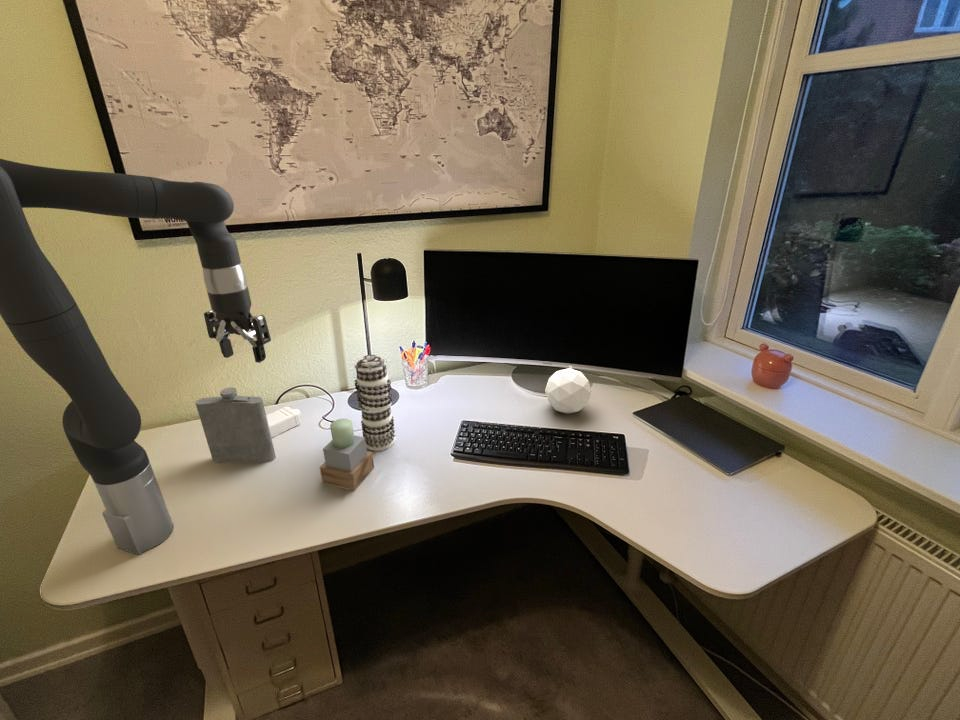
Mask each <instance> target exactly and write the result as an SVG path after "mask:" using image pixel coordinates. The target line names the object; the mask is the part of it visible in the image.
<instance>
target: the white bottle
mask: <svg viewBox="0 0 960 720" xmlns="http://www.w3.org/2000/svg"><path fill="white" fill-rule="evenodd" d="M266 417H267V421H268V426H269V430H270V434H271V438H272V439H273V438H274V437H276V436H279V435H281V434H282V433H284V432H286V431H289V430H290V429H293V428H294V427H297V426H299V425H301V420H300V419H301V417H302V413H301V411H300V410H299V409H298V408H293V409H292V408H290V407H289V406H284V407H282V408H280V409H276V411H275V410H274V411H273V412H270V413H268V414H266Z"/></svg>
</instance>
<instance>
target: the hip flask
mask: <svg viewBox="0 0 960 720" xmlns="http://www.w3.org/2000/svg"><path fill="white" fill-rule="evenodd" d="M237 393H238V391H237V389H236V387H233V386H232V387H225V388H224V389H221V390H220V391H219V395H220V396H210V397H203V398H199V399H197V400H196V401H195V406H196V410H197V413H198V416H199V419H200V420H199V421H200V423H201V426H202V428H203V432H204V436H205V439H206V441H207V442H206V443H207V445H208V446H207V447H208V449H209V450H208V451H209V452H210V455H211V459H212V463H214V464H220V463H228V462H230V463H231V462H262V463H269V462H272V461H275V460H276V458H277V456H276V453H275V448H274V444H273V440H272V439H273V437H272V438H271V434H270V430H269V426H268V421H267V417H266V415H267V413H266V410H265V405H264V400H263V398H262V396H261V397H260V396H250V395H249V396H248V395H247V396H246V395H237Z"/></svg>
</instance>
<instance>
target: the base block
mask: <svg viewBox="0 0 960 720" xmlns="http://www.w3.org/2000/svg"><path fill="white" fill-rule="evenodd" d="M366 451H367V450H366ZM374 469H375V462H374V455H373V451H367V455H366V456H365V457H364V458H363V459H362V461H361V462H360V463H359V464H358V465H357V466H356V467H355V468H354V470H353V471H352V472H351V471H346V470H342V469H337V468H333V467H328V466H326V463H325V461H324V462H323V463H322V464H321V465H320V466H319V470H320V471H319V472H320V474H321V475H320V476H321V481H322V483H323V484H326V485H331V486H333V487H334V486H335V487H339V488H343V489H347V490H351V491H357V489H358V487H360V485H361V484H362V483H363V482H364V481H365V480H366V478H367V477H368V476H369V475H370V474H371V472H373V471H374Z"/></svg>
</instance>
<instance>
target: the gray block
mask: <svg viewBox="0 0 960 720" xmlns="http://www.w3.org/2000/svg"><path fill="white" fill-rule="evenodd" d="M354 439H355V442H354V444H353V445H351V446H350V447H347V448H336V447H335V446H334V445H333V441H332V439H331V440H330V441H329V442H328V444H327V443H326V445H325V446H324V447H323V448H322V451H323V457H324V462H325V463H326V466H328V467H333V468H337V469H342V470H346V471H351V472H352V471H353V470H354V468H355V467H356V466H357V465H358V464H359V463H360V462H361V461H362V459H363V458H364V457H365V456H366V455H367V448H366V443H365V438H364V437H363V436H358V435H354Z"/></svg>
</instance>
